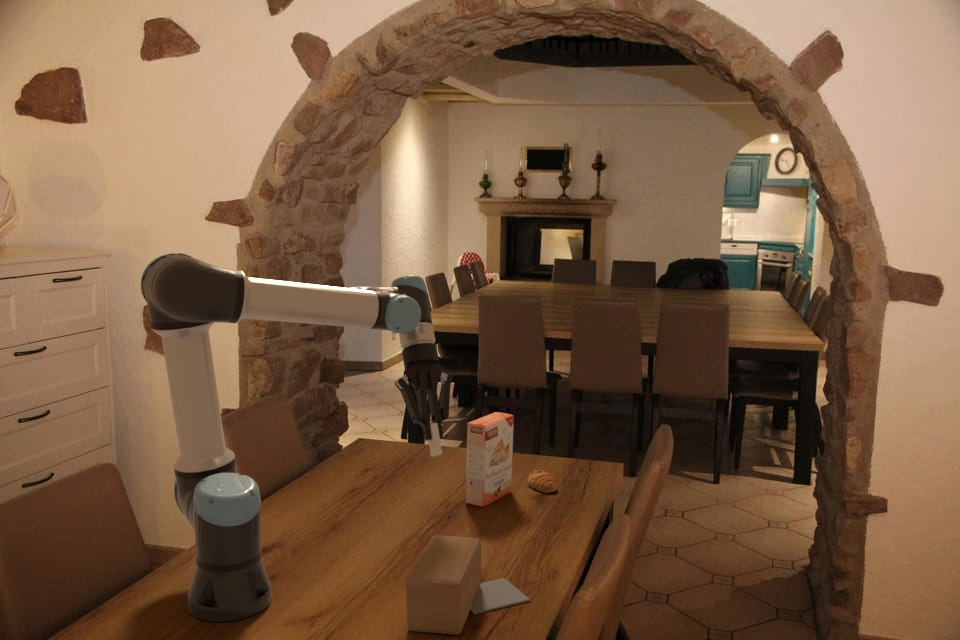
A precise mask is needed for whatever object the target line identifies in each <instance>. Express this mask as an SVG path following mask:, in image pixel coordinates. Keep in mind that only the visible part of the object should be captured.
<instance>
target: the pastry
mask: <svg viewBox="0 0 960 640" xmlns="http://www.w3.org/2000/svg"><path fill="white" fill-rule="evenodd" d="M527 482H528V483H527V484H528V485H529V486H530V488H532V489H533V488H534V489H533V490H535V489H536V490H535V491H537V492H540V491H541V492H540V493H545V494H548V493H551V492H556V491H557V489H558V483H557V481H556V478H555V477H554V476H553V475H552V474H551V473H550V472H545V471H544V470H541V469H537V470H534V471H533V472H532V471H531V473H530V474H529V476H528V477H527Z"/></svg>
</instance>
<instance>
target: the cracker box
mask: <svg viewBox="0 0 960 640" xmlns="http://www.w3.org/2000/svg"><path fill="white" fill-rule="evenodd" d="M514 420H515V415H513V414H510V413H504V412H498V411H495V412H492V413H489V414H487V415H485V416H481V417H479V418H477V419H474V420H471V421H469V422H467V423H466V425H467V427H466V429H467V430H466V459H465V460H466V461H465V462H466V463H465V464H466V465H465V466H466V467H465V497H464V498H465V504H468V505H473V506H477V507H480V508H485V507H486V506H489V505H490V504H493V503H494V502H496V501H497V500H500V499H501V498H503V497H504V496H506V495H508V494H510V493H512V481H513V480H512V477H513V449H514V446H513V445H514Z"/></svg>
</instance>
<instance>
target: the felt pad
mask: <svg viewBox="0 0 960 640" xmlns="http://www.w3.org/2000/svg"><path fill="white" fill-rule="evenodd" d="M530 601H531V599H530V598H529V597H528V596H527V595H525V594H524V593H523V592H522V591H521V590H520V589H518V587H516V586H515V585H514V584H512V583H511V582H510V581H509V580H508V579H506V578H505V577H503V578H497V579H492V580H488V581H484V582H481V585H480V587H479V590H478V592H477V594H476V597H475V599H474V602H473V604H472V607H471V609H470V612H469V613H471V614H472V615H477V614H481V613H482V614H483V613H487V612H489V611H494V610H500V609H502V608H506V607H511V606H515V605H518V604H520V605H521V604H523V603H528V602H530Z"/></svg>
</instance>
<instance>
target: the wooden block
mask: <svg viewBox="0 0 960 640" xmlns="http://www.w3.org/2000/svg"><path fill="white" fill-rule="evenodd" d="M482 581H483V580H482V542H481V540H480V538H478V537H467V536H453V535H452V536H451V535H440V534H439V535H437V534H436V535H433V536H431V538H430V540H429V541H428V543H427V545H426V546H425V548H424V550H423V551H422V553H421V555H420V556H419V558H418V560H417V562H416V563H415V565H414V566H413V568H412V570H411V572H410V574H409V576H408V577H407V578H406V581H405V594H406V595H405V596H406V597H405V599H406V601H405V602H406V626H407V629H408V630H409V631H411V632H421V633H430V634H431V633H433V634H442V635H443V634H444V635H454V636H455V635H460V634H461V633H462V631H463V629H464V627H465V624H466V621H467V619H468V616H469V614H470V613H471V612H470V609H471V607H472V604H473V602H474V599H475V597H476V594H477V592H478V590H479V587H480V585H481V583H483V582H482Z"/></svg>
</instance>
